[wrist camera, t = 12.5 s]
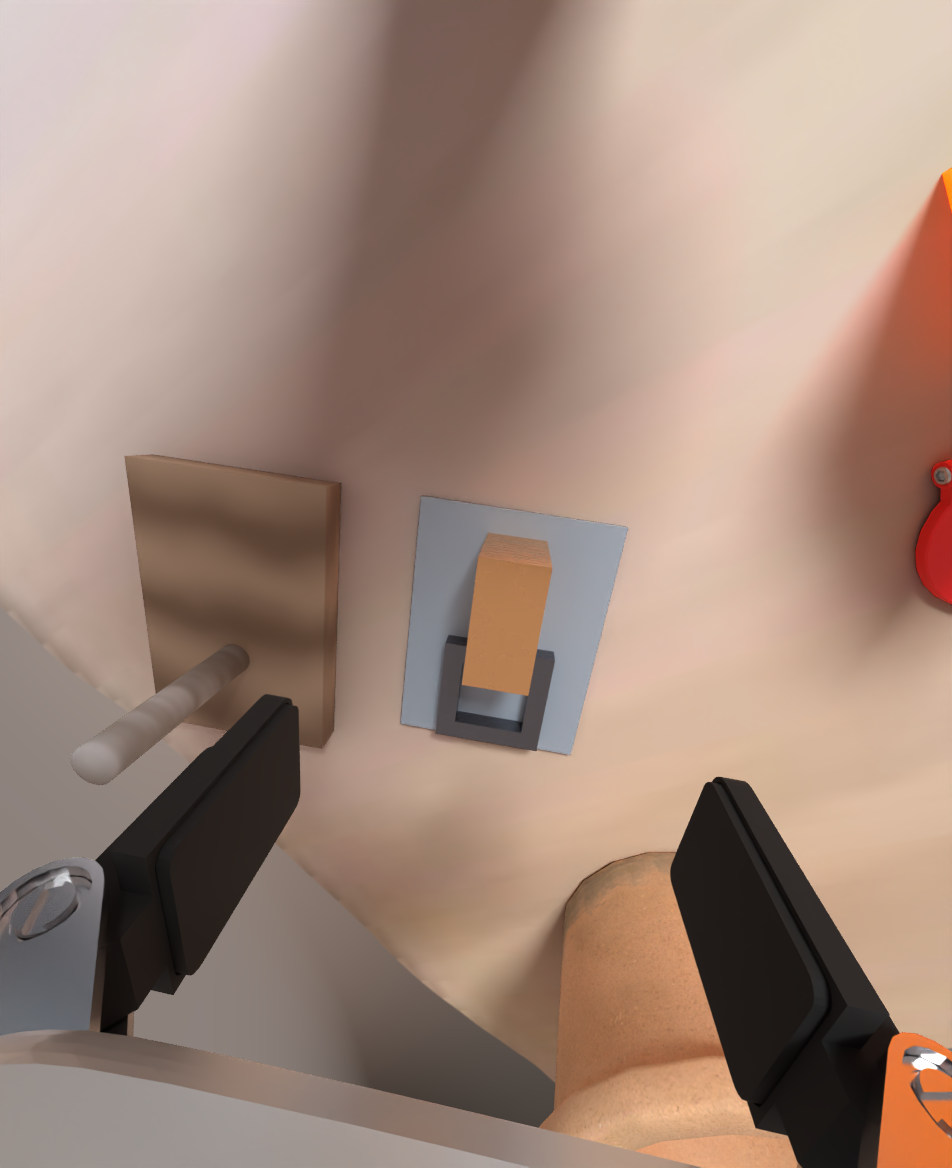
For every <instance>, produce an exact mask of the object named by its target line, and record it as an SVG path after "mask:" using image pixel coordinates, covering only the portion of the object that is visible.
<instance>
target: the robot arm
mask: <svg viewBox="0 0 952 1168" xmlns="http://www.w3.org/2000/svg"><path fill="white" fill-rule="evenodd" d="M299 797H300V750H299V710H298V707H297V706H294V705H293V703H292V700H291V699H290V698H287V697H281V696H276V695H270V694H265V695H263V696H262V697H261V698H260V699H259V700H258V701H257V702H256V703H255V704H254V705H253V706H252V707H251V708H250V709H249V710H248V711H247V712H246V713H245V714H244V715H243V716H242V717H241V718H240V719H239V720H238V721H237V722H236V723H235V724H234V725H233V726H232V727H231V728H230V729H229V730H228V731H227V732H226V733H225V735H224V736H223V737H222V738H221V739H220V740H219V741H218V742H217V743H216V744H215V745H214V746H212V747H209V748H207V749H206V750H205V751H203V752H202V753H201V754H200V755H199V756H198V757H197V758H196V759H195V760H194V761H193V762H192V763H191V764H190V765H189V766H188V767H187V768H186V769H185V770H184V771H183V772H182V773H181V774H180V775H179V776H178V777H177V778H176V779H175V780H174V781H173V782H172V783H171V784H170V785H169V786H168V787H167V788H166V789H165V790H164V791H163V792H162V793H161V794H160V795H159V796H158V797H157V798H156V799H155V800H154V801H153V802H152V804H150V805H149V806H148V807H147V809H146V810H145V811H144V812H143V813H142V814H141V815H140V816H139V817H138V818H137V819H136V820H135V821H134V822H133V823H132V824H131V825H130V826H129V827H128V828H127V829H126V830H125V831H124V832H123V833H122V834H121V835H120V836H119V837H118V838H117V839H116V840H115V841H114V842H113V843H112V844H111V845H110V846H109V847H108V848H107V849H106V850H105V851H104V852H103V853H102V854H101V855H100V856H99V857H98V858H97V859H96V860H95V861H94V860H91V859H88V858H85V857H75V858H66V859H62V860H57V861H53V862H50V863H48V864H45V865H43V866H41V867H38V868H36V869H34V870H32V871H30V872H28V873H27V874H25V875H23V876H22V877H20V878H18V879H17V880H15V881H13V882H12V883H11V884H10V885H9V886H7V887H6V888H5V889H4V890H2V891H1V892H0V1168H702V1167H698V1166H694V1165H690V1164H686V1163H681V1162H677V1161H673V1160H669V1159H665V1158H661V1157H657V1156H653V1155H648V1154H644V1153H640V1152H636V1151H632V1150H628V1149H624V1148H620V1147H615V1146H611V1145H607V1144H603V1143H599V1142H595V1141H591V1140H587V1139H582V1138H578V1137H574V1136H570V1135H566V1134H562V1133H557V1132H553V1131H549V1130H545V1129H541V1128H536V1127H532V1126H528V1125H524V1124H519V1123H515V1122H511V1121H507V1120H503V1119H498V1118H494V1117H489V1116H486V1115H481V1114H477V1113H473V1112H469V1111H464V1110H460V1109H456V1108H451V1107H447V1106H443V1105H438V1104H435V1103H430V1102H426V1101H422V1100H418V1099H413V1098H409V1097H405V1096H401V1095H396V1094H392V1093H388V1092H384V1091H379V1090H375V1089H371V1088H366V1087H362V1086H358V1085H353V1084H349V1083H345V1082H340V1081H335V1080H331V1079H327V1078H323V1077H318V1076H314V1075H310V1074H305V1073H301V1072H296V1071H292V1070H288V1069H283V1068H279V1067H275V1066H270V1065H266V1064H262V1063H257V1062H253V1061H248V1060H244V1059H240V1058H235V1057H231V1056H226V1055H222V1054H216V1053H211V1052H207V1051H202V1050H197V1049H192V1048H187V1047H182V1046H177V1045H173V1044H167V1043H163V1042H158V1041H153V1040H148V1039H143V1038H138V1037H133V1028H134V1027H133V1026H134V1011H135V1010H137V1009H138V1008H139V1007H140V1005H141V1004H142V1002H143V1001H144V999H145V998H146V996H147V995H148V993H149V992H150V990H154V991H158V992H162V993H167V994H171V995H174V993H175V991H176V990H177V988H178V987H179V985H180V983H181V982H182V980H183V979H184V977H185V975H193V974H194V973H195V972H196V970H198V969H199V967H200V966H201V964H202V963H203V961H204V959H205V958H206V956H207V954H208V953H209V951H210V949H211V948H212V946H213V944H214V943H215V941H216V939H217V938H218V936H219V934H220V933H221V931H222V929H223V928H224V926H225V925H226V923H227V921H228V920H229V918H230V916H231V914H232V913H233V911H234V910H235V908H236V906H237V905H238V903H239V901H240V900H241V898H242V896H243V894H244V893H245V891H246V890H247V888H248V886H249V885H250V883H251V881H252V880H253V878H254V876H255V875H256V873H257V871H258V870H259V868H260V867H261V865H262V863H263V862H264V860H265V858H266V857H267V855H268V853H269V852H270V850H271V848H272V847H273V845H274V843H275V842H276V840H277V838H278V837H279V835H280V833H281V832H282V830H283V828H284V827H285V825H286V823H287V822H288V820H289V818H290V817H291V815H292V813H293V812H294V810H295V808H296V806H297V804H298V801H299ZM670 878H671V884H672V887H673V891H674V894H675V897H676V900H677V904H678V907H679V910H680V913H681V917H682V920H683V923H684V926H685V929H686V933H687V936H688V939H689V942H690V946H691V949H692V952H693V955H694V959H695V962H696V965H697V968H698V971H699V975H700V978H701V981H702V984H703V988H704V991H705V994H706V997H707V1001H708V1004H709V1007H710V1010H711V1014H712V1017H713V1020H714V1023H715V1026H716V1030H717V1033H718V1036H719V1039H720V1043H721V1046H722V1049H723V1052H724V1056H725V1059H726V1062H727V1065H728V1069H729V1072H730V1075H731V1078H732V1081H733V1084H734V1087H735V1089H736V1091H737V1093H738V1095H739V1096H740V1098H741V1099H742V1100H744V1101H747V1104H748V1107H749V1110H750V1113H751V1116H752V1119H753V1122H754V1125H755V1128H756V1129H760V1130H765V1131H769V1132H773V1133H778V1134H782V1135H786V1136H788V1138H789V1141H790V1144H791V1146H792V1149H793V1152H794V1155H795V1157H796V1160H797V1162H798V1164H797V1168H952V1052H950V1051H949V1050H948V1049H946V1048H945V1047H943V1046H942V1045H940V1044H938V1043H937V1042H935V1041H933V1040H931V1039H928V1038H926V1037H924V1036H921V1035H919V1034H915V1033H906V1032H902V1033H899V1031H898V1030H897V1028H896V1026H895V1025H894V1023H893V1021H892V1020H891V1018H890V1016H889V1015H890V1014H889V1013H888V1011H887V1009H886V1008H885V1006H884V1004H883V1003H882V1001H881V1000H880V998H879V996H878V995H877V993H876V991H875V990H874V988H873V986H872V985H871V983H870V982H869V980H868V978H867V977H866V975H865V973H864V972H863V970H862V968H861V967H860V965H859V963H858V962H857V960H856V959H855V957H854V955H853V954H852V952H851V950H850V949H849V947H848V945H847V944H846V942H845V940H844V939H843V937H842V936H841V934H840V932H839V931H838V929H837V927H836V926H835V924H834V922H833V921H832V919H831V918H830V916H829V914H828V913H827V911H826V909H825V908H824V906H823V904H822V903H821V901H820V899H819V898H818V896H817V895H816V893H815V891H814V890H813V888H812V886H811V885H810V883H809V881H808V880H807V878H806V876H805V875H804V873H803V872H802V870H801V868H800V867H799V865H798V863H797V862H796V860H795V858H794V857H793V855H792V854H791V852H790V850H789V849H788V847H787V845H786V844H785V842H784V840H783V839H782V837H781V835H780V834H779V832H778V831H777V829H776V827H775V826H774V824H773V822H772V821H771V819H770V817H769V816H768V814H767V813H766V811H765V809H764V808H763V806H762V804H761V803H760V801H759V799H758V798H757V796H756V794H755V793H754V791H753V790H752V788H751V787H750V785H749V784H748V783H746V782H745V781H740V780H734V779H729V778H723V777H716V778H715V779H714V780H713V781H712V782H707V783H706V784H705V785H704V787H703V790H702V792H701V795H700V797H699V799H698V802H697V804H696V807H695V809H694V811H693V814H692V816H691V819H690V821H689V823H688V826H687V828H686V831H685V833H684V835H683V838H682V840H681V843H680V845H679V847H678V850H677V852H676V855H675V857H674V859H673V862H672V864H671V869H670Z"/></svg>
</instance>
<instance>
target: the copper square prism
mask: <svg viewBox="0 0 952 1168" xmlns="http://www.w3.org/2000/svg"><path fill="white" fill-rule="evenodd" d="M551 573H552V563H551V557H550V552H549V547H548V541H543V540H536V539H529V538H523V537H516V536H509V535H502V534H495V533H488V534H487V537H486V539H485V542H484V544H483V546H482V549H481V551H480V554H479V556H478V563H477V570H476V578H475V586H474V594H473V602H472V609H471V617H470V625H469V633H468V638H466V637H460V636H454V635H448V638H447V640H446V643H445V651H444V660H443V669H442V678H441V687H440V697H439V706H438V715H437V724H436V734H442V735H448V736H453V737H459V738H465V739H470V740H476V741H482V742H487V743H493V744H499V745H504V746H510V747H516V748H521V749H527V750H532V751H537V746H538V741H539V736H540V731H541V727H542V722H543V717H544V712H545V707H546V702H547V698H548V693H549V688H550V683H551V678H552V673H553V669H554V664H555V656H554V652H553V651H547V650H540V649H537V647H538V642H539V637H540V631H541V626H542V621H543V616H544V610H545V605H546V600H547V594H548V589H549V584H550V579H551ZM463 665H464V671H463ZM462 673H463V679H462ZM461 681H462V685H466V686H472V687H478V688H484V689H490V690H496V691H502V692H508V693H514V694H520V695H525V696H526V700H525V705H524V711H523V716H522V721H521V722H520V721H514V720H508V719H503V718H497V717H491V716H485V715H479V714H474V713H468V712H462V711H458V704H459V696H460V689H461Z"/></svg>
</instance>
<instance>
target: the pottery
mask: <svg viewBox="0 0 952 1168" xmlns="http://www.w3.org/2000/svg"><path fill="white" fill-rule="evenodd" d="M675 855H676V852H649V853H645V854H642V855H638V856H634V857H630V858H627V859H623V860H619V861H615V862H613V863H611V864H610V865H608V866H606V867H605V868H603V869H602V870H600V871H598V872H597V873H595V874H594V875H592V876H590V877H589V878H587V879H586V880H584V881H583V882H582V884H581V885H580V886H579V888H578V889H577V891H576V892H575V893H574V895H573V896H572V897H571V899H570V900H569V902H568V903H567V906H566V912H565V919H564V926H563V936H564V938H563V956H562V974H561V992H560V1011H559V1029H558V1047H557V1065H556V1084H555V1085H556V1086H555V1103H554V1112H553V1113H552V1114H551V1115H550V1116H549V1117H548V1118H547V1119H546V1120H545V1121H544V1122H543V1123H542V1124H541V1125H540V1128H541V1129H545V1130H549V1131H553V1132H557V1133H562V1134H566V1135H570V1136H574V1137H578V1138H582V1139H587V1140H591V1141H595V1142H599V1143H603V1144H607V1145H611V1146H615V1147H620V1148H624V1149H628V1150H632V1151H636V1152H640V1153H644V1154H648V1155H653V1156H657V1157H661V1158H665V1159H669V1160H673V1161H677V1162H681V1163H686V1164H690V1165H694V1166H698V1167H702V1168H797V1164H798V1162H797V1160H796V1157H795V1155H794V1152H793V1149H792V1146H791V1144H790V1141H789V1138H788V1136H786V1135H782V1134H778V1133H773V1132H769V1131H765V1130H760V1129H756V1128H755V1125H754V1122H753V1119H752V1116H751V1113H750V1110H749V1107H748V1104H747V1101H744V1100H742V1099H741V1098H740V1096H739V1095H738V1093H737V1091H736V1089H735V1087H734V1084H733V1081H732V1078H731V1075H730V1072H729V1069H728V1065H727V1062H726V1059H725V1056H724V1052H723V1049H722V1046H721V1043H720V1039H719V1036H718V1033H717V1030H716V1026H715V1023H714V1020H713V1017H712V1014H711V1010H710V1007H709V1004H708V1001H707V997H706V994H705V991H704V988H703V984H702V981H701V978H700V975H699V971H698V968H697V965H696V962H695V959H694V955H693V952H692V949H691V946H690V942H689V939H688V936H687V933H686V929H685V926H684V923H683V920H682V917H681V913H680V910H679V907H678V904H677V900H676V897H675V894H674V891H673V887H672V884H671V878H670V869H671V864H672V862H673V859H674V857H675Z"/></svg>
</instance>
